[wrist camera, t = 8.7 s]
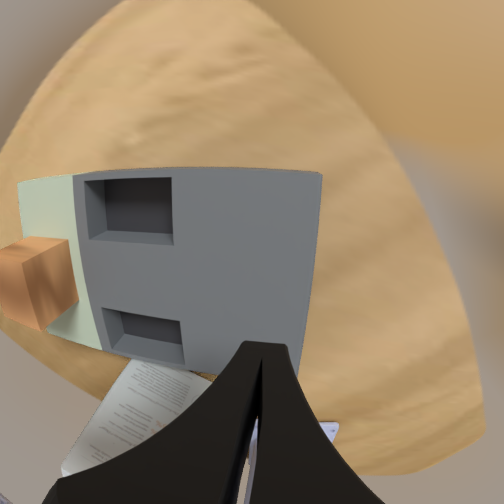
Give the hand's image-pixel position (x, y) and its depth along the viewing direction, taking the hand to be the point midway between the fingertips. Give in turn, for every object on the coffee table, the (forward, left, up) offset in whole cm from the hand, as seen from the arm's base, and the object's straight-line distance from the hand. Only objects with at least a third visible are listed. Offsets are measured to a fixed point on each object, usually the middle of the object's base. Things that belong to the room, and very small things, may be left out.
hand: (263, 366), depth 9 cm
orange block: (-1, +16, -7) cm, 17 cm away
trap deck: (-1, +9, -9) cm, 13 cm away
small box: (-12, +8, -10) cm, 18 cm away
